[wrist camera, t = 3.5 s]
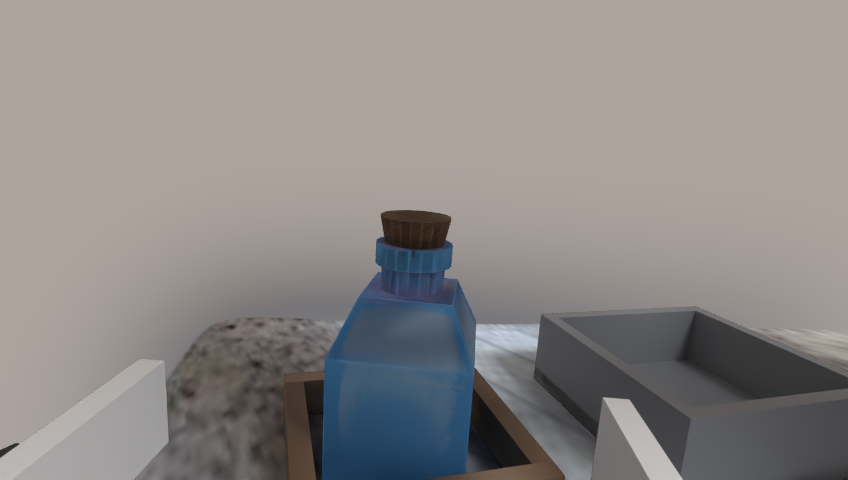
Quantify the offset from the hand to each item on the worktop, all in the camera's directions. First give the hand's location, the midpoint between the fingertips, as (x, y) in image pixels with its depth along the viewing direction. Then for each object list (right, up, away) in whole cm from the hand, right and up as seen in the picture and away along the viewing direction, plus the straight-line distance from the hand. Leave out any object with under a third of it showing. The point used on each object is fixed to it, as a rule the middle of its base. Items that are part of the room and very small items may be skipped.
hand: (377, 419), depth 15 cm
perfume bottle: (0, -5, +10) cm, 11 cm away
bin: (+17, -5, +15) cm, 23 cm away
